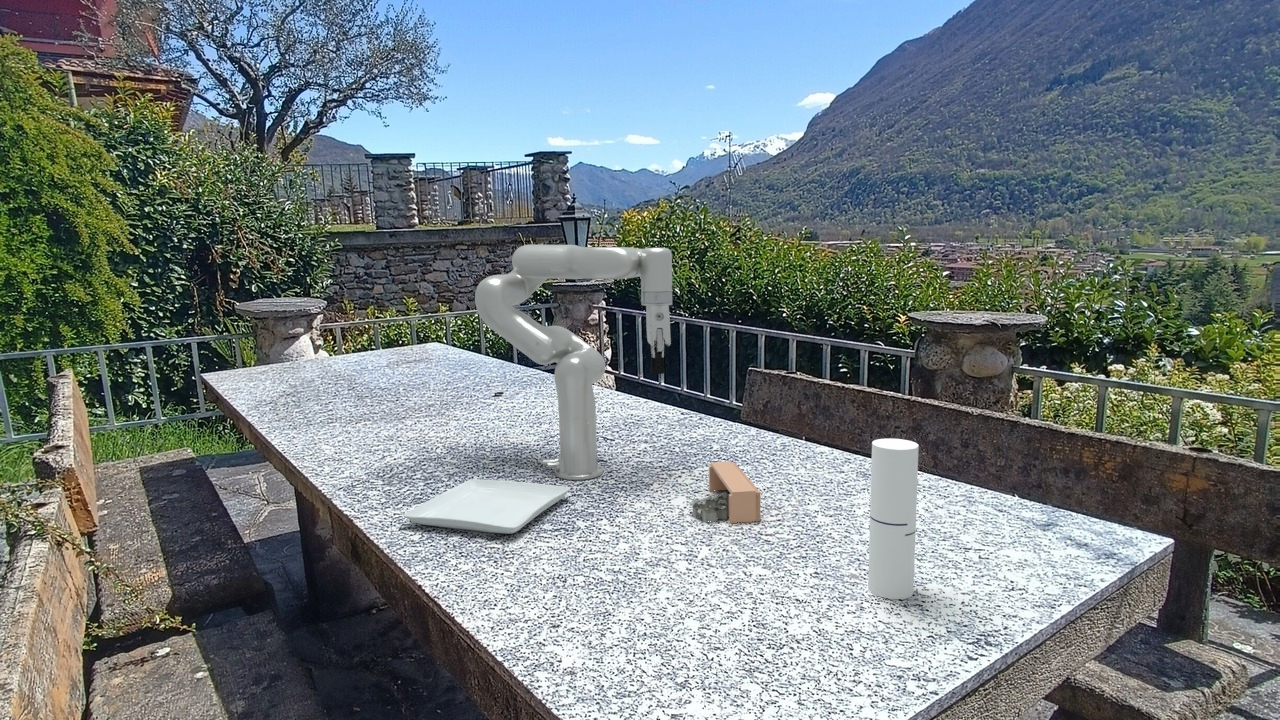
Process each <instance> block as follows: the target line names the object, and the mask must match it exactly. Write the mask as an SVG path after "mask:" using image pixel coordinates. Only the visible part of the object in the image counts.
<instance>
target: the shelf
mask: <svg viewBox="0 0 1280 720" xmlns="http://www.w3.org/2000/svg"><path fill="white" fill-rule="evenodd" d="M709 490H710V491H713V492H715V491H714V490H728V491H727V492H729V493H728V494H729V518H728V523H729V522H730V523H732V524H740V523H739V522H749V523H758V522H757V521H760V522H761V491H760V490H759V489H758V488H757V486H755V484H754V483H753V482H752V481H751V480H750V478H749V477H748V476H747V475H746V474H745V472H744V471H743V470H742V469H741V468H740V466H739V465H738V464H737V463H736V462H732V461H716V462H715V461H713V462H712V461H711V462H710V465H708V491H709ZM710 491H709V492H710ZM752 521H753V522H752ZM754 521H756V522H754ZM737 522H738V523H737ZM730 523H729V524H730Z"/></svg>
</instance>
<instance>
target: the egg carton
mask: <svg viewBox="0 0 1280 720" xmlns="http://www.w3.org/2000/svg"><path fill="white" fill-rule="evenodd" d="M729 494H730V493H728V492H727V491H722V492H721V493H719V494H717V495H713V496H712V495H709V496H708V497H703V498H701V499H698V498H697V499H696V498H695V499H692V500H691V502H690V503H689V506H690V507H692V517H693V518H694V517H702V518H701V519H702V522H703V521H704V522H703V523H705V522H706V523H712V522H715V521H717V522H718V519H717V518H725V519H724V520H727V519H726V518H728V517H729ZM728 519H729V518H728ZM708 521H709V522H708ZM710 521H711V522H710ZM715 523H716V522H715Z"/></svg>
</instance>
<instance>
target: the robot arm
mask: <svg viewBox="0 0 1280 720" xmlns="http://www.w3.org/2000/svg"><path fill="white" fill-rule="evenodd" d="M672 262H673V256H672V250H670V249H669V248H667V247H646V248H638V247H637V248H636V247H629V246H628V247H627V246H624V247H623V246H621V247H619V246H618V247H616V246H615V247H612V246H611V247H607V246H606V247H603V246H602V247H600V246H599V247H598V246H597V247H595V246H593V247H590V246H588V247H587V246H586V247H585V246H579V245H576V244H525V245H521V246H519V247H518V248H517V249H515V251H514V252H513V255H512V257H511V264H512V268H513V269H512V270H511V271H510V272H509V273H508V274H507V273H506V274H505V273H504V274H494V275H490V276H487V277H486V278H483V280H480V282H479V283H478V285H477V287H476V289H475V293H474V301H475V308H476V310H477V313H478V315H479V317H480V319H481V320H482V321H483V322H484V324H485V325H486V326H488V328H489V329H491V330H492V331H493V332H495V333H496V334H497V335H499V336H500V337H501V338H503V339H504V340H506V341H507V342H508V343H509V344H511V346H513V347H515V348H516V349H517V350H518V351H519V352H521V353H522V354H524V355H525V356H527V357H528V358H529V359H530V360H532V362H534V363H536V364H539V365H541V366H542V365H544V366H545V365H549V364H550V365H551V364H554V363H556V365H555V367H554V384H555V389H556V393H557V403H558V405H557V406H558V407H557V408H558V423H559V424H558V426H559V427H558V430H559V454H558V457H555V458H553V459H552V458H543V459H542V466H543V467H547V469H552V468H555V469H554V475H555V476H556V477H558V478H560V479H563V480H568V481H569V480H571V481H581V480H590V479H594V478H598V477H600V476H601V475H603V473H604V467H603V466H602V465H601V464H598V446H597V444H598V440H597V416H596V415H597V414H596V412H597V408H596V397H595V395H594V389H593V384H595V383H597V382H599V380H601V379H602V377H603V376H604V374H605V373H606V362H605V358H604V357H603V356H602V354H601V353H600V352H599V351H598V350H596V348H594V347H593V346H591V345H590V344H589V343H587V342H586V341H584V340H583V339H581V338H580V337H579V336H578V335H576V334H575V333H574V332H572V331H570V330H569V329H568V328H566V327H563V326H560V325H548V326H544V325H543V324H541V323H540V322H537V321H536V319H535V320H534V319H533V318H532V317H530V315H528V314H526V313H525V312H523V311H522V310H520V309H517V308H516V307H515V306H518V305H520V304H522V303H524V302H525V301H527V300H528V299H529V298H530V297H531V295H532V294H534V292H536V291H537V290H538V289H539V288H540V287H541V286H542V285H543V284H544V283H545V282H547V280H548V279H554V280H555V279H556V280H557V279H561V280H562V279H563V280H565V279H566V280H579V279H588V280H589V279H594V280H595V279H596V280H624V279H633V278H638V277H640V289H641V290H640V291H641V296H640V297H641V298H640V299H641V300H640V302H641V306H645V310H646V311H645V314H646V316H645V321H646V322H645V323H646V325H645V326H646V339H647V340H646V341H647V343H648V344H649V345H650V352H651V353H650V354H651V355H650V373H651V374H652V375H664V374H665V369H666V368H665V346H667V347H669V346H671V344H672V343H671V342H672V338H671V319H670V316H671V315H670V306H673V263H672Z"/></svg>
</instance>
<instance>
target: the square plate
mask: <svg viewBox="0 0 1280 720" xmlns="http://www.w3.org/2000/svg"><path fill="white" fill-rule="evenodd" d="M570 490H571V487H570V486H564V485H556V484H555V485H554V484H553V485H552V484H544V483H534V482H525V481H524V482H523V481H511V480H498V479H497V480H496V479H482V478H481V479H480V478H478V479H476V478H471V479H468V480H467V481H464V482H462V483H461V484H458V485H456V486H454V487H452V488H449V489H448V490H445V491H443V492H441V493H440V494H437V495H435V496H434V497H432V498H431V499H429V500H427V501H424V502H423V503H421V504H420V505H418V506H416V507H414V508H413V509H411V510H410V511H408V512H406V513H404V514H403V516H402V517H404V518H405V519H407V520H409V521H410V522H412V523H415V524H419V525H425V526H430V527H431V526H432V527H440V528H447V529H455V530H466V531H473V532H474V531H475V532H480V533H481V532H483V533H492V534H506V535H507V534H509V535H510V534H514V533H516V532H518V531H519V530H522V528H523V527H525V526H526V525H527V524H529V523H530V522H531V521H533V520H534V519H535V518H536V517H538V516H539V515H540V514H542V513H543V512H544V511H546V510H547V509H549V508H550V507H552V506H554V505H555V504H556V503H558V502H560V501H561V500H562V499H563V498H564V497H565V496H566V495H567V494H568V493H569V491H570Z"/></svg>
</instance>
